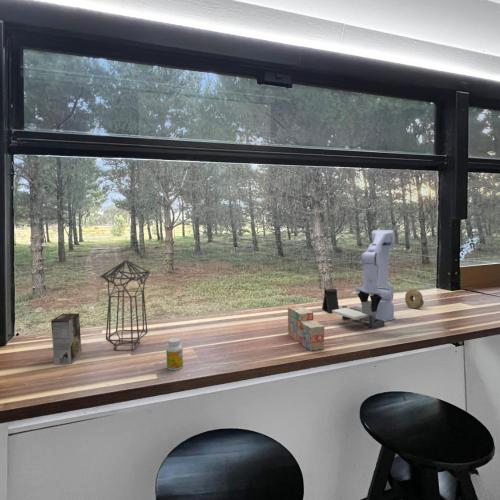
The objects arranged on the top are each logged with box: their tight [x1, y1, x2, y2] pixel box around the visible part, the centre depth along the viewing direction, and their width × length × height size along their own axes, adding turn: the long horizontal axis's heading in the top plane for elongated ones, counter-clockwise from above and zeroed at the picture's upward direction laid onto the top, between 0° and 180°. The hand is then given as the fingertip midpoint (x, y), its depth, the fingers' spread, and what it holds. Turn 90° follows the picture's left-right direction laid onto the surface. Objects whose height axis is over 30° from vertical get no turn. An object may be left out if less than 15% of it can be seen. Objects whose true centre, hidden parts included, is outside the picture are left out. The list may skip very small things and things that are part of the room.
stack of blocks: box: [287, 305, 325, 352], centre depth 141 cm, size 21×6×12 cm, turn 17°
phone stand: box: [321, 288, 340, 314], centre depth 186 cm, size 9×6×12 cm, turn 13°
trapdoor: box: [331, 305, 376, 322], centre depth 161 cm, size 15×14×4 cm
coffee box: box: [50, 313, 83, 366], centre depth 125 cm, size 9×6×16 cm
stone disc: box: [404, 289, 425, 309], centre depth 189 cm, size 10×4×10 cm, turn 26°
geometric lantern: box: [99, 260, 151, 352], centre depth 136 cm, size 16×16×35 cm
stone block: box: [361, 300, 377, 315], centre depth 150 cm, size 4×4×5 cm
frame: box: [341, 305, 386, 330], centre depth 164 cm, size 9×18×7 cm, turn 31°
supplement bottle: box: [165, 337, 184, 371], centre depth 118 cm, size 5×5×10 cm
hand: (369, 310), depth 150 cm, fingers closed on stone block, 4 cm apart
